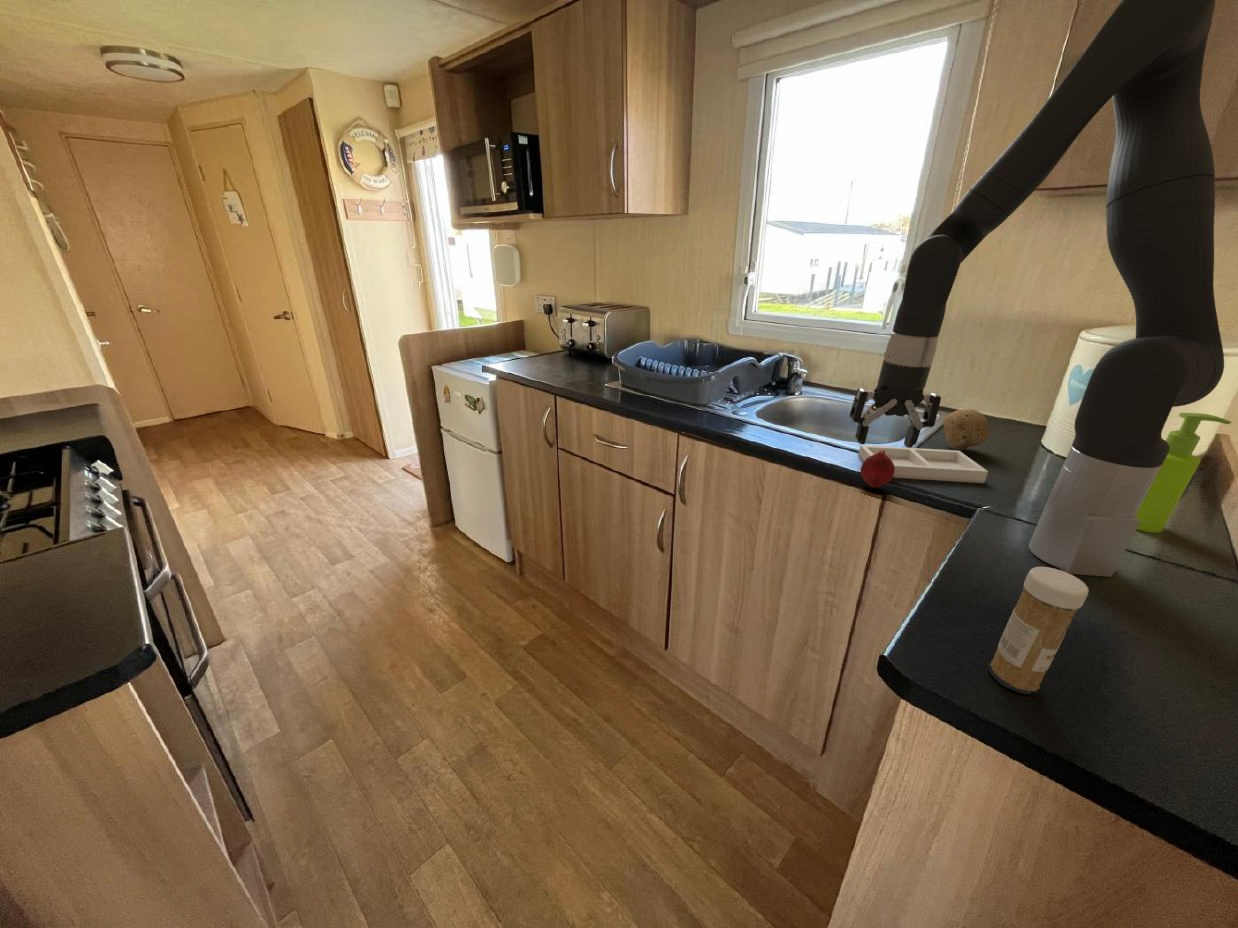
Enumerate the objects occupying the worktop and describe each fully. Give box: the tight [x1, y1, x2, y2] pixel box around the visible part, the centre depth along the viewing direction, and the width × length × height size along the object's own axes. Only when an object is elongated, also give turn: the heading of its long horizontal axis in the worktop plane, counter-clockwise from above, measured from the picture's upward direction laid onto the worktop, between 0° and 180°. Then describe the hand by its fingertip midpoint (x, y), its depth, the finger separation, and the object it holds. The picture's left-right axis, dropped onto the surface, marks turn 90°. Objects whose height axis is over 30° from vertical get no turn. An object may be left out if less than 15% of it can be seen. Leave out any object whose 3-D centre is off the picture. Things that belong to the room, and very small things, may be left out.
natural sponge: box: [943, 408, 991, 451], centre depth 112 cm, size 9×9×10 cm
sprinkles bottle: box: [989, 566, 1090, 692], centre depth 50 cm, size 5×5×13 cm
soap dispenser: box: [1135, 412, 1233, 534], centre depth 80 cm, size 6×7×20 cm
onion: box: [860, 449, 895, 489], centre depth 94 cm, size 6×6×8 cm
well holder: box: [857, 444, 989, 484], centre depth 104 cm, size 11×21×3 cm, turn 84°
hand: (884, 444), depth 92 cm, fingers open, 8 cm apart
